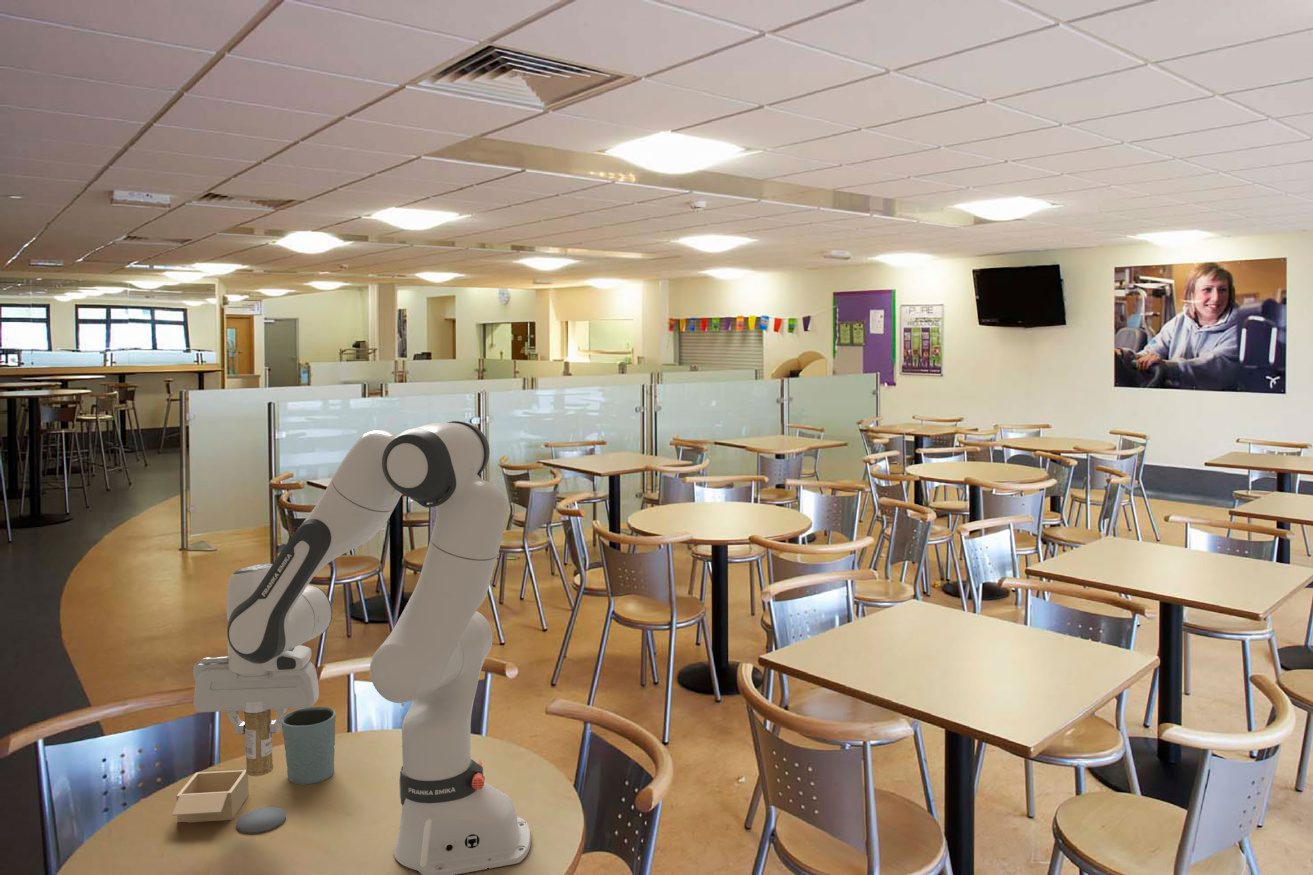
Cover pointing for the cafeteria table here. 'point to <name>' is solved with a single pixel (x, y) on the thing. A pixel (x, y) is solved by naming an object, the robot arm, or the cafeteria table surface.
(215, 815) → the carton
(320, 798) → the cafeteria table surface
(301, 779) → the teal cup
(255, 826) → the coaster
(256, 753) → the sprinkles bottle
